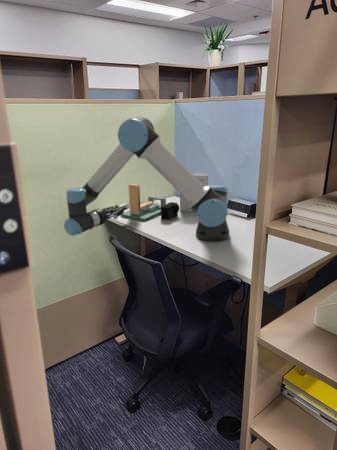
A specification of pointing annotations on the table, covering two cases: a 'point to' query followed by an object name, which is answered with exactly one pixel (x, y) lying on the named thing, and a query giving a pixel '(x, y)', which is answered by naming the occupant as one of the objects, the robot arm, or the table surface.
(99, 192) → the robot arm
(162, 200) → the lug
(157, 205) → the heat sink
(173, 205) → the digital camera
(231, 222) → the table surface
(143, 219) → the circuit board
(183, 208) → the hard drive box
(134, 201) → the upright wooden plank
